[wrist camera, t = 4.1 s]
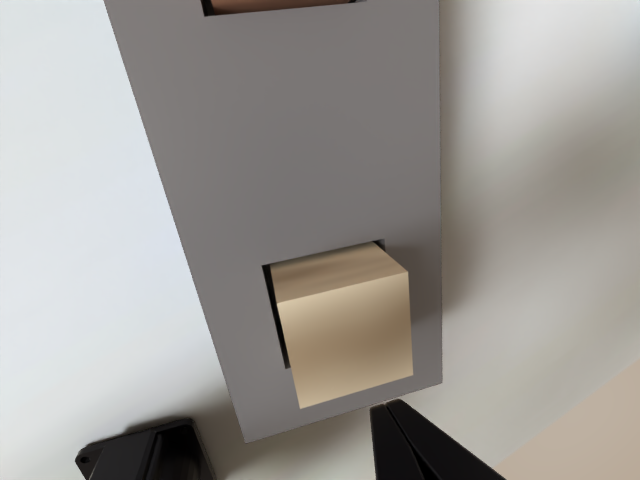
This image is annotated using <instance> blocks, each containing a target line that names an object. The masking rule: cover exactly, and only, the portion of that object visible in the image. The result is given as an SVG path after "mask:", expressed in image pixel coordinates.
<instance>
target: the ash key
mask: <svg viewBox="0 0 640 480" xmlns="http://www.w3.org/2000/svg"><path fill="white" fill-rule="evenodd" d="M270 269H271V274H272V280H273V285H274V291H275V296H276V302H277V307H278V311H279V316H280V320H281V325H282V329H283V334H284V338H285V343H286V347H287V352H288V356H289V361H290V365H291V370H292V374H293V379H294V383H295V388H296V392H297V397H298V401H299V406H300V409H302V408H305V407H308V406H312V405H315V404H318V403H322V402H325V401H328V400H332V399H335V398H338V397H342V396H345V395H348V394H352V393H355V392H358V391H362V390H365V389H368V388H372V387H375V386H378V385H382V384H385V383H388V382H392V381H395V380H398V379H402V378H405V377H408V376H412V375H413V361H412V341H411V321H410V301H409V280H408V271H407V270H405V269H404V268H403V267H402V266H401V265H400V264H398V263H397V262H396V261H395V260H394V259H393V258H391V257H390V256H389V255H388V254H387V253H385V252H384V251H383V250H382V249H381V248H380V247H378V246H377V245H376V244H375V243H374V242H372V241H370V242H365V243H361V244H356V245H352V246H347V247H343V248H338V249H334V250H329V251H325V252H320V253H316V254H311V255H307V256H302V257H298V258H293V259H289V260H284V261H279V262H275V263H270Z"/></svg>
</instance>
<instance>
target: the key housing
mask: <svg viewBox="0 0 640 480" xmlns="http://www.w3.org/2000/svg"><path fill="white" fill-rule="evenodd" d="M104 3H105V6H106V9H107V13H108V16H109V19H110V22H111V25H112V28H113V31H114V34H115V38H116V41H117V44H118V47H119V50H120V53H121V56H122V59H123V63H124V66H125V69H126V72H127V75H128V78H129V81H130V84H131V87H132V91H133V94H134V97H135V100H136V103H137V106H138V109H139V112H140V116H141V119H142V122H143V125H144V128H145V131H146V134H147V137H148V141H149V144H150V147H151V150H152V153H153V156H154V159H155V162H156V166H157V169H158V172H159V175H160V178H161V181H162V184H163V187H164V191H165V194H166V197H167V200H168V203H169V206H170V209H171V212H172V216H173V219H174V222H175V225H176V228H177V231H178V234H179V237H180V240H181V244H182V247H183V250H184V253H185V256H186V259H187V262H188V265H189V269H190V272H191V275H192V278H193V281H194V284H195V287H196V290H197V294H198V297H199V300H200V303H201V306H202V309H203V312H204V315H205V319H206V322H207V325H208V328H209V331H210V334H211V337H212V340H213V344H214V347H215V350H216V353H217V356H218V359H219V362H220V365H221V369H222V372H223V375H224V378H225V381H226V384H227V387H228V390H229V393H230V397H231V400H232V403H233V406H234V409H235V412H236V415H237V418H238V422H239V425H240V428H241V431H242V434H243V437H244V440H245V443H246V444H247V443H250V442H253V441H256V440H259V439H263V438H266V437H269V436H272V435H276V434H279V433H282V432H285V431H289V430H292V429H295V428H298V427H302V426H305V425H308V424H311V423H314V422H318V421H321V420H324V419H327V418H331V417H334V416H337V415H340V414H344V413H347V412H350V411H353V410H357V409H360V408H363V407H366V406H370V405H373V404H376V403H379V402H382V401H386V400H389V399H392V398H395V397H399V396H402V395H405V394H408V393H412V392H415V391H418V390H421V389H425V388H428V387H431V386H434V385H438V384H441V383H442V283H441V165H440V48H439V0H350V1H349V2H348V3H347V4H337V5H326V6H315V7H304V8H294V9H283V10H272V11H261V12H250V13H239V14H228V15H218V16H215V13H214V9H213V5H212V1H211V0H104ZM370 241H372V242H374V243H375V244H376V245H377V246H378V247H380V248H381V249H382V250H383V251H384V252H385V253H387V254H388V255H389V256H390V257H391V258H393V259H394V260H395V261H396V262H397V263H398V264H400V265H401V266H402V267H403V268H404V269H405V270H407V271H408V280H409V301H410V321H411V341H412V361H413V375H412V376H408V377H405V378H402V379H398V380H395V381H392V382H388V383H385V384H382V385H378V386H375V387H372V388H368V389H365V390H362V391H358V392H355V393H352V394H348V395H345V396H342V397H338V398H335V399H332V400H328V401H325V402H322V403H318V404H315V405H312V406H308V407H305V408H302V409H300V406H299V401H298V397H297V392H296V388H295V383H294V379H293V374H292V370H291V365H290V361H289V356H288V352H287V347H286V343H285V338H284V334H283V329H282V325H281V320H280V316H279V311H278V307H277V302H276V296H275V291H274V285H273V280H272V274H271V269H270V263H275V262H279V261H284V260H289V259H293V258H298V257H302V256H307V255H311V254H316V253H320V252H325V251H329V250H334V249H338V248H343V247H347V246H352V245H356V244H361V243H365V242H370Z"/></svg>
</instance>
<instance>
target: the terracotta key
mask: <svg viewBox="0 0 640 480" xmlns="http://www.w3.org/2000/svg"><path fill="white" fill-rule="evenodd" d="M211 1H212V5H213V9H214V13H215V16H218V15H228V14H239V13H250V12H261V11H272V10H283V9H294V8H304V7H315V6H326V5H337V4H347V3H348V2H349V1H350V0H211Z"/></svg>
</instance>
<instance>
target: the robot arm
mask: <svg viewBox="0 0 640 480" xmlns="http://www.w3.org/2000/svg"><path fill="white" fill-rule="evenodd" d="M370 421H371V432H372V442H373V453H374V463H375V474H376V480H506V479H505V478H504V477H502V476H501V475H500V474H498V473H497V472H496V471H495V470H493V469H492V468H491V467H489V466H488V465H487V464H485V463H484V462H483V461H481V460H480V459H479V458H477V457H476V456H475V455H474V454H472V453H471V452H470V451H468V450H467V449H466V448H464V447H463V446H462V445H460V444H459V443H458V442H456V441H455V440H454V439H453V438H451V437H450V436H449V435H447V434H446V433H445V432H443V431H442V430H441V429H439V428H438V427H437V426H435V425H434V424H433V423H432V422H430V421H429V420H428V419H426V418H425V417H424V416H422V415H421V414H420V413H418V412H417V411H416V410H414V409H413V408H412V407H411V406H409V405H408V404H407V403H405V402H404V401H403V400H401V399H396V400H393V401H390V402H387V403H386V404H385V405H384V404H380V405H377V406H374V407H371V408H370ZM185 427H186V428H185ZM75 462H76V464H77V466H78V467H79V469H80V471H81V472H82V474H83V476H84V477H85V479H86V480H217V479H216V477H215V474H214V472H213V469H212V466H211V464H210V461H209V459H208V456H207V454H206V451H205V448H204V446H203V443H202V441H201V438H200V436H199V433H198V430H197V428H196V425H195V423H194V421H193V420H191V419H182V420H179V421H175V422H172V423H168V424H165V425H161V426H158V427H154V428H151V429H147V430H144V431H140V432H137V433H133V434H130V435H126V436H123V437H119V438H116V439H112V440H109V441H106V442H102V443H99V444H95V445H92V446H88V447H85V448H83V449H81V450H80V451H79V453H78V455H77V457H76V459H75Z"/></svg>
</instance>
